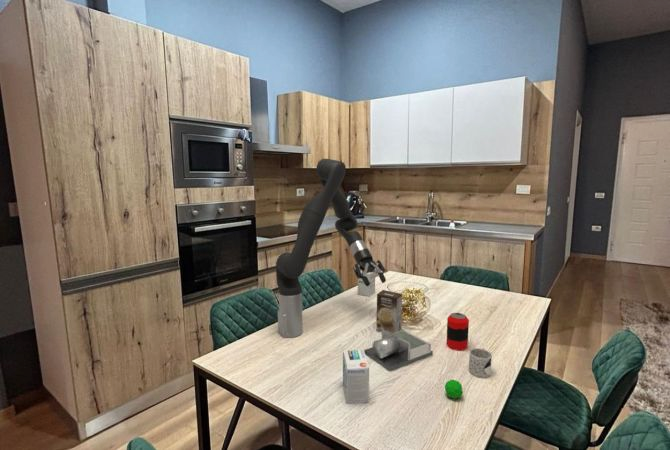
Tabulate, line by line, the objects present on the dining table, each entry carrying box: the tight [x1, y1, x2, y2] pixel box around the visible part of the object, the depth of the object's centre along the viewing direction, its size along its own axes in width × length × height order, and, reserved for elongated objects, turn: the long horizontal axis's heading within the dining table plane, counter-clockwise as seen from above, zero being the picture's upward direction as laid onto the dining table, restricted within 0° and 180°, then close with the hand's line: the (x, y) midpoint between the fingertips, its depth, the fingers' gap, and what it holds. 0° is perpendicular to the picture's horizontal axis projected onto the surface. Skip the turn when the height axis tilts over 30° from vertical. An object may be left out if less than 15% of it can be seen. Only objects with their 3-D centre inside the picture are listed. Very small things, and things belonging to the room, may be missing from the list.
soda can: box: [445, 312, 470, 351], centre depth 133 cm, size 8×8×12 cm
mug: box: [468, 348, 493, 379], centre depth 117 cm, size 10×7×7 cm, turn 148°
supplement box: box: [357, 269, 376, 298], centre depth 192 cm, size 7×7×13 cm
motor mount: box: [363, 329, 434, 372], centre depth 127 cm, size 20×14×8 cm
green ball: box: [444, 379, 464, 400], centre depth 103 cm, size 5×5×5 cm
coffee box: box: [375, 289, 403, 333], centre depth 146 cm, size 9×6×16 cm
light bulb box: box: [342, 349, 370, 404], centre depth 105 cm, size 11×7×11 cm, turn 5°
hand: (376, 283), depth 152 cm, fingers open, 8 cm apart
